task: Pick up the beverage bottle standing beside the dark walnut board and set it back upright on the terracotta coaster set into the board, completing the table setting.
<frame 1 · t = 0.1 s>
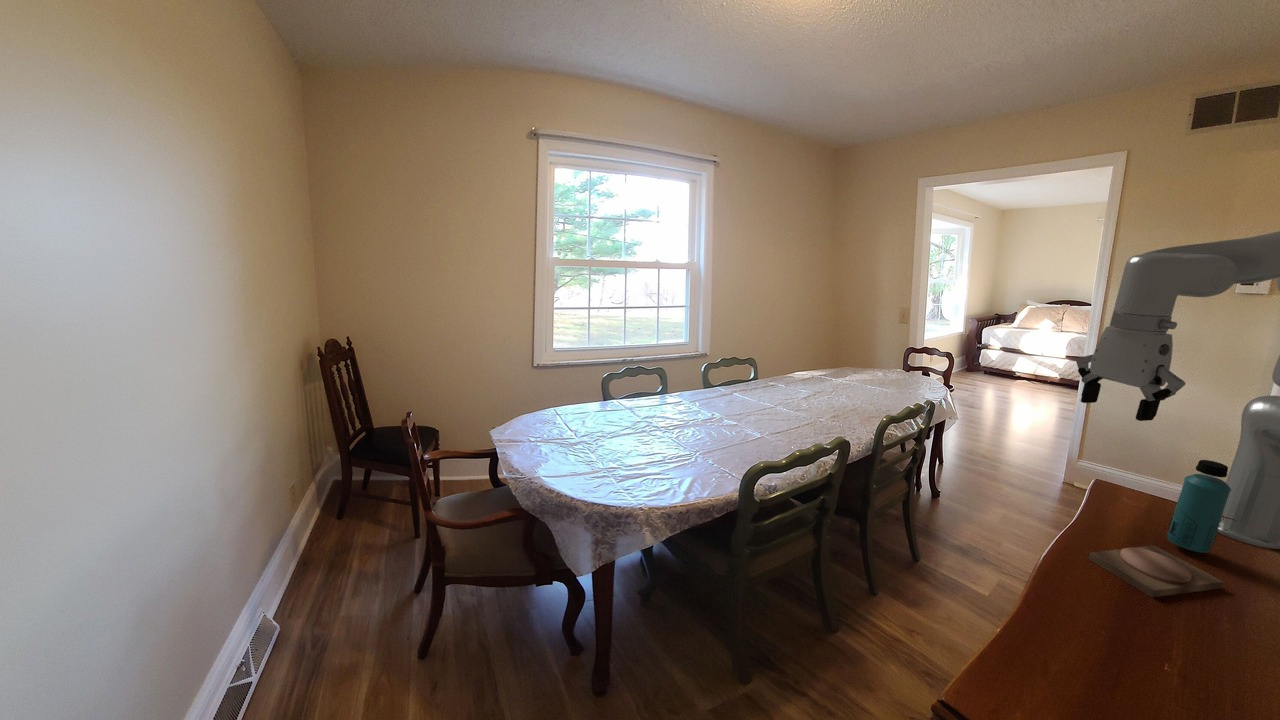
hand: (1114, 410, 93), 31 cm above the table, tool pointing down, fingers open, 9 cm apart
beverage bottle: (1185, 550, 102), on the table
walnut board: (1151, 573, 94), on the table
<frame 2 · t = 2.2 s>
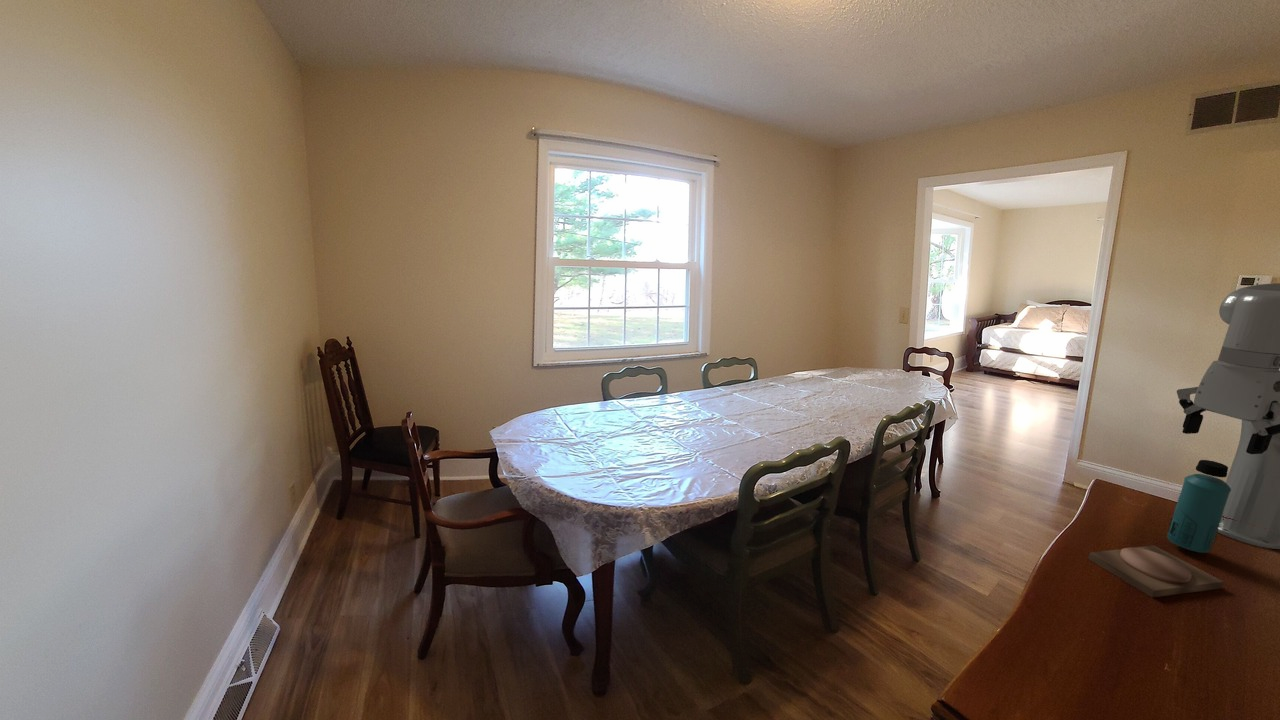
hand: (1220, 442, 96), 24 cm above the table, tool pointing down, fingers open, 9 cm apart
nothing on the table moved.
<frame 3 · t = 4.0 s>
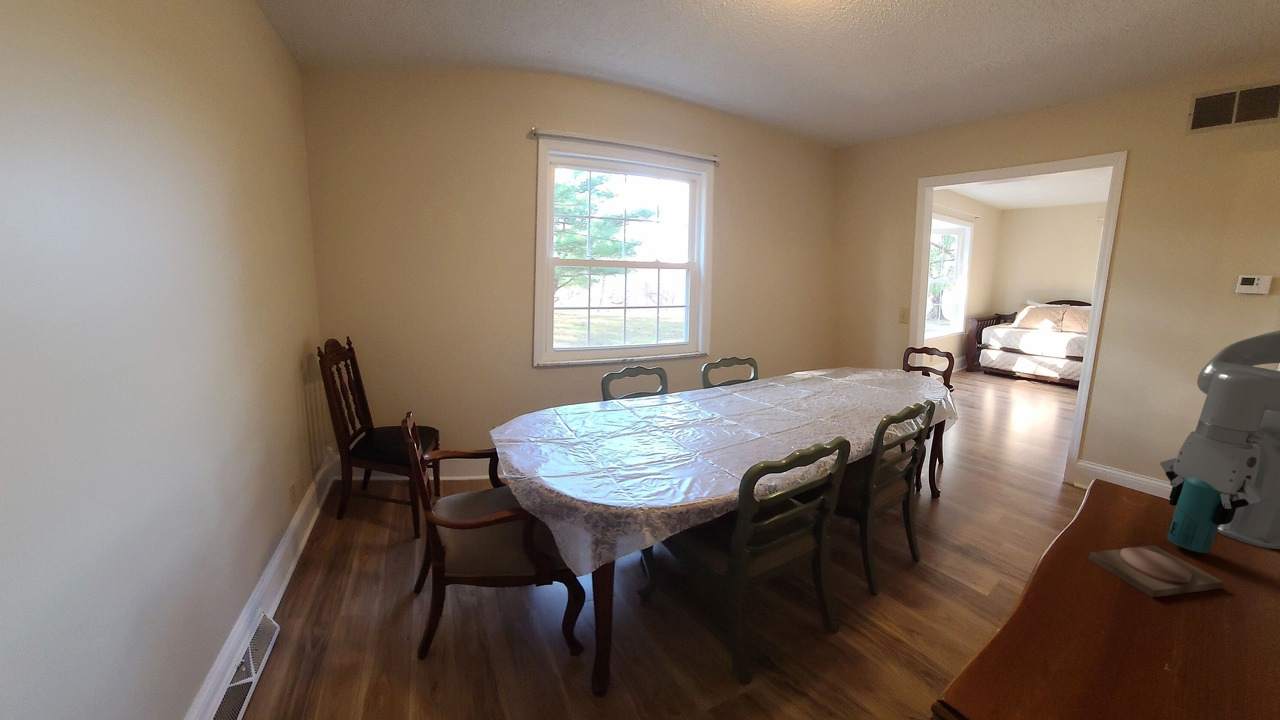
hand: (1197, 513, 100), 9 cm above the table, tool pointing down, fingers closed on beverage bottle, 6 cm apart
beverage bottle: (1185, 550, 102), on the table, touching gripper
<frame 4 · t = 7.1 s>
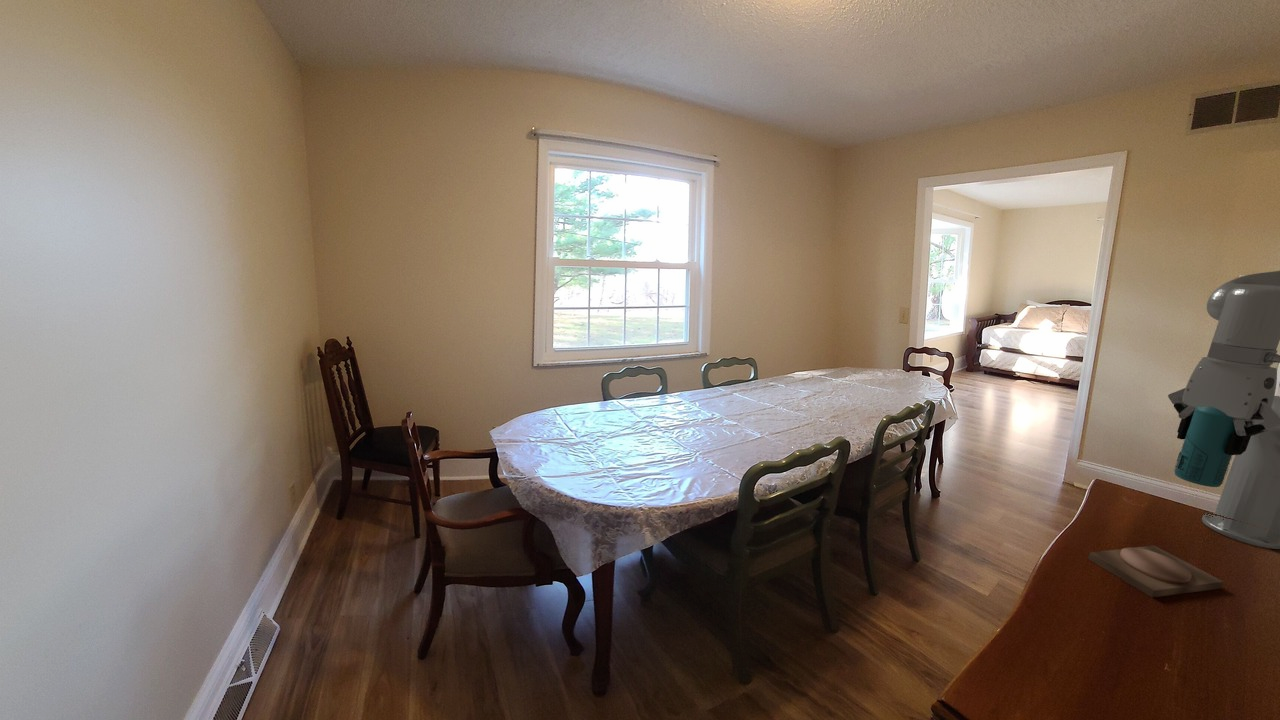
hand: (1208, 445, 92), 25 cm above the table, tool pointing down, fingers closed on beverage bottle, 6 cm apart
beverage bottle: (1193, 487, 94), point 16 cm above the table, touching gripper
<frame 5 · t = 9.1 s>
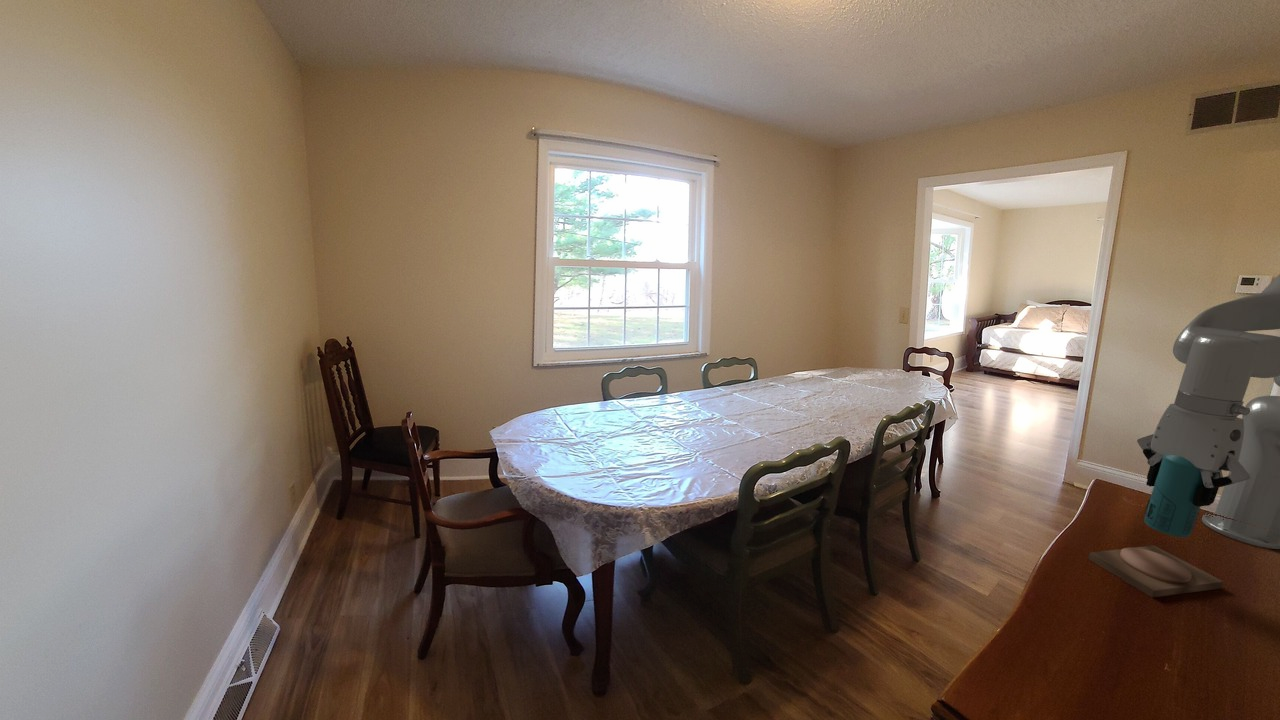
hand: (1177, 494, 90), 17 cm above the table, tool pointing down, fingers closed on beverage bottle, 6 cm apart
beverage bottle: (1163, 535, 92), point 8 cm above the table, touching gripper
when the fingers open (12 cm above the table, at t = 10.5 s): beverage bottle drops 2 cm, resting on walnut board.
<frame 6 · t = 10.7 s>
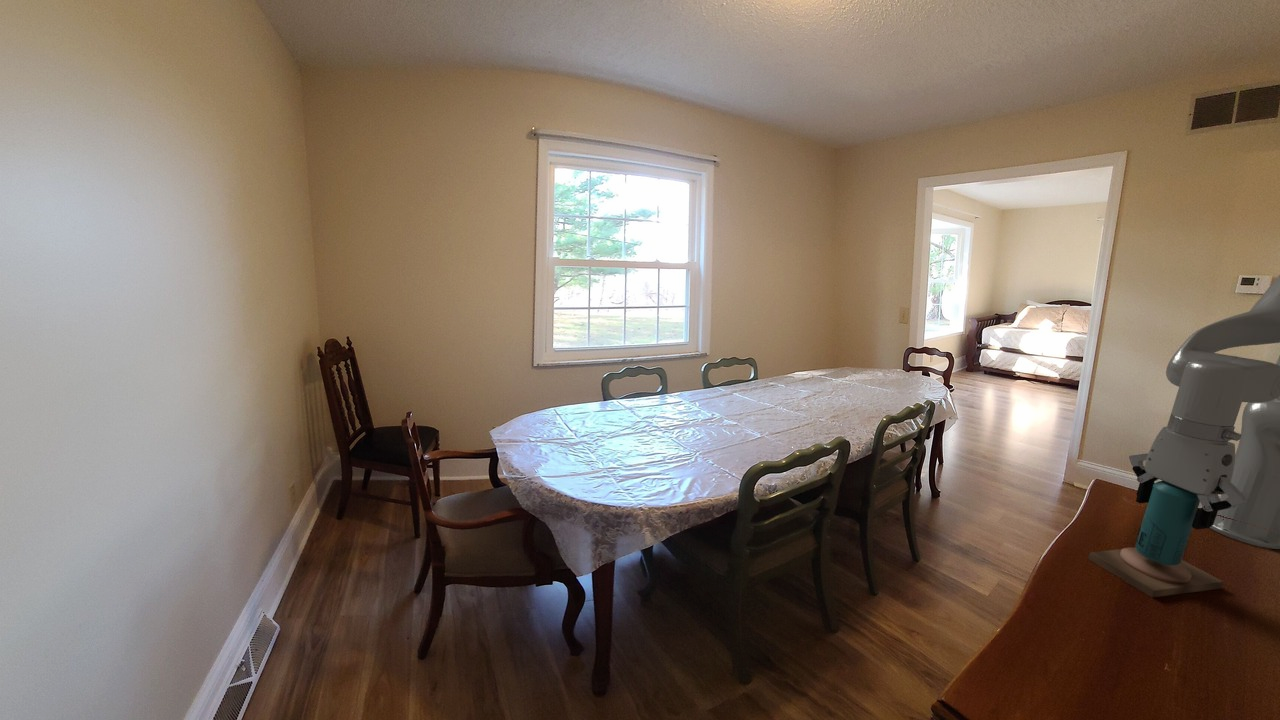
hand: (1170, 514, 91), 13 cm above the table, tool pointing down, fingers open, 8 cm apart
beverage bottle: (1153, 562, 94), point 2 cm above the table, touching walnut board
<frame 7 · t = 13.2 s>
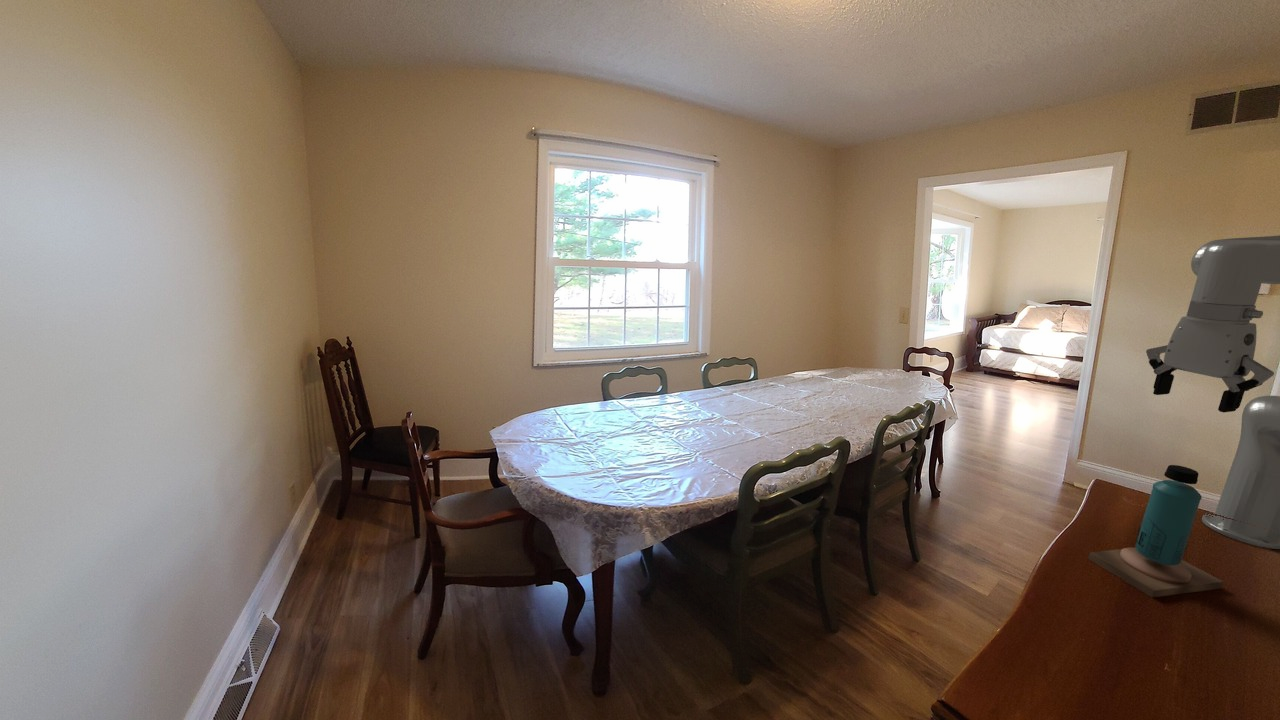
hand: (1192, 402, 91), 34 cm above the table, tool pointing down, fingers open, 9 cm apart
nothing on the table moved.
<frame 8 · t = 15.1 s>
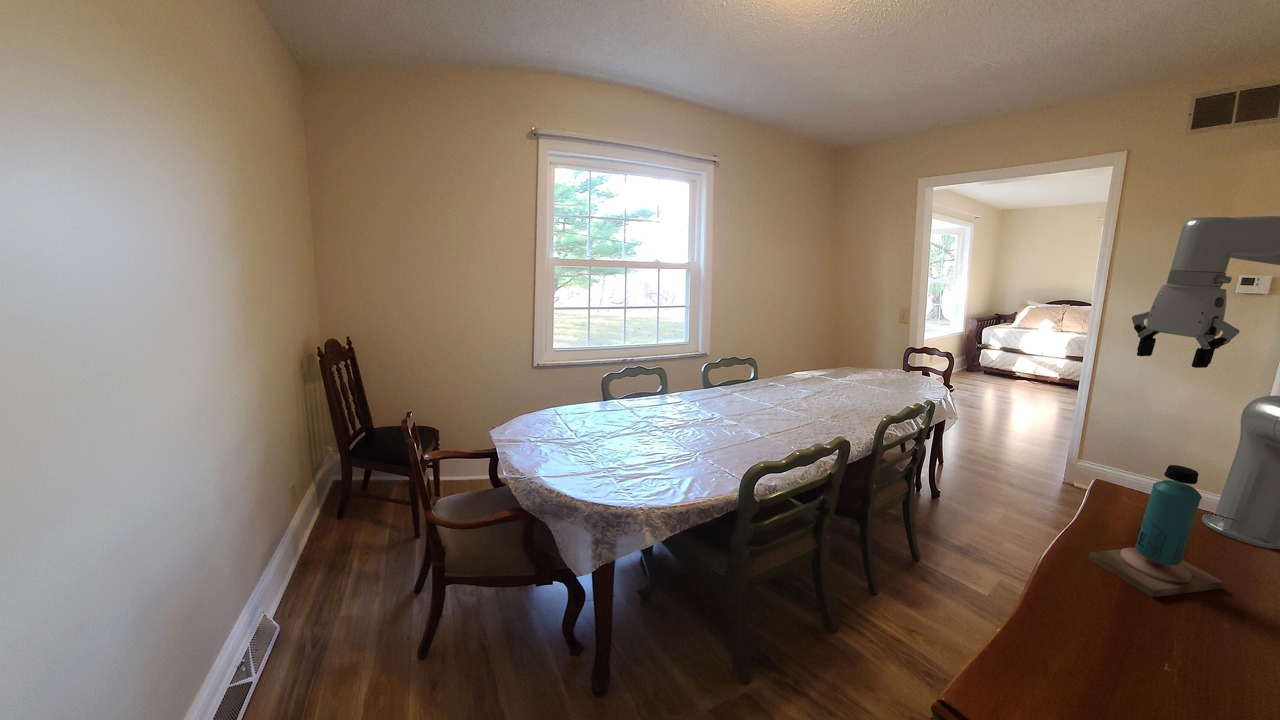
hand: (1170, 361, 103), 38 cm above the table, tool pointing down, fingers open, 9 cm apart
nothing on the table moved.
at the end: beverage bottle inside the target area on the walnut board (0.4 cm from its centre), point 2.1 cm above the walnut board's base; beverage bottle tilted 0°; the gripper is holding nothing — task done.
